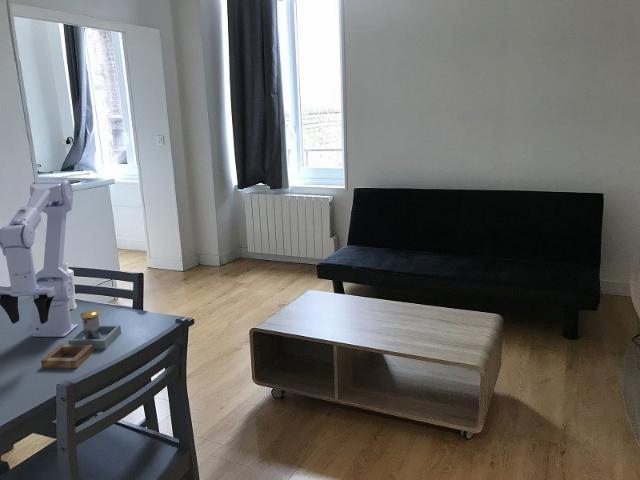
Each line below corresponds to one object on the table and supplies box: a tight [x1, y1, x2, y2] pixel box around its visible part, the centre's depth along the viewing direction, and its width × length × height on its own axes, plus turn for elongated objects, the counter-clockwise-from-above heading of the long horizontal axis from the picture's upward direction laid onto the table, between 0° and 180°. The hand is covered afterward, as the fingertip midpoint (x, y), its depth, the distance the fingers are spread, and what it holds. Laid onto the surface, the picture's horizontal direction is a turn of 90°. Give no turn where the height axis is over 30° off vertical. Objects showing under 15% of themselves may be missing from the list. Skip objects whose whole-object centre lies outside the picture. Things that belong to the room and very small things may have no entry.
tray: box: [67, 324, 122, 350], centre depth 146 cm, size 10×10×2 cm
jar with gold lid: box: [80, 309, 101, 339], centre depth 144 cm, size 5×5×8 cm
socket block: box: [40, 343, 95, 369], centre depth 135 cm, size 9×9×2 cm
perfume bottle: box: [63, 262, 78, 311], centre depth 169 cm, size 5×4×15 cm
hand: (30, 322), depth 136 cm, fingers open, 7 cm apart
